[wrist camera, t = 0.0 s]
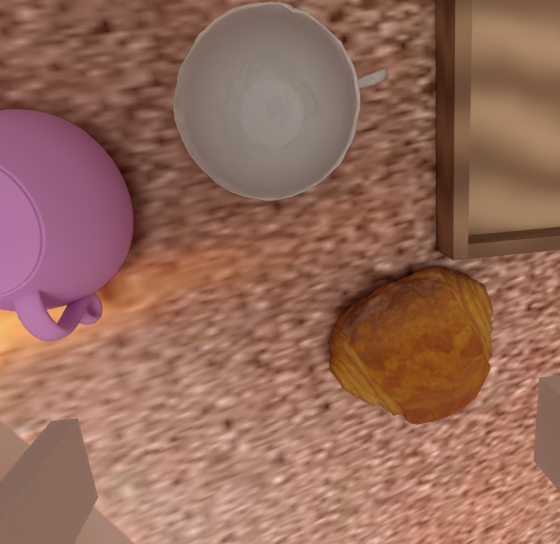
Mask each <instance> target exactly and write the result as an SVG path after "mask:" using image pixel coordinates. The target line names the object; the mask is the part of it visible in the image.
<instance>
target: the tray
mask: <svg viewBox="0 0 560 544" xmlns="http://www.w3.org/2000/svg"><path fill="white" fill-rule="evenodd" d="M436 250H438V251H439V252H441V253H443V254H444V255H446V256H448V257H449V258H451V259H452V260H459V259H469V258H479V257H490V256H500V255H510V254H521V253H531V252H541V251H552V250H560V0H436Z"/></svg>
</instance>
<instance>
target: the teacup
mask: <svg viewBox="0 0 560 544" xmlns="http://www.w3.org/2000/svg"><path fill="white" fill-rule="evenodd" d="M386 76H387V72H386V70H385V69H381V70H378V71H375V72H373V73H371V74H368V75H366V76H363V77H361V78H357V74H356V71H355V68H354V65H353V63H352V61H351V59H350V58H349V56H348V54H347V52H346V50H345V49H344V47H343V45H342V42H341V41H339V40H338V39H337V38H336V37H335V36H334V35H333V34H332V33H331V32H330V31H329V30H328V29H327V28H326V27H325V26H324V25H323V24H322V23H321V22H319V21H318V20H317V19H316V18H315V17H313V16H312V15H311V14H309V13H308V12H306V11H305V10H300V9H298V8H296V9H295V8H293V7H292V6H290V5H288V4H286V3H282V2H261V3H252V4H246V5H242V6H238V7H235V8H233V9H231V10H229V11H227V12H225V13H224V14H222V15H220V16H219V17H217V18H216V19H214V20H213V21H212V22H211V23H210V24H209V25H208V26H207V27H206V28H205V29H204V31H202V32H201V33H199V34H198V36H197V38H196V40H195V42H194V44H193V46H192V47H191V48H190V50H189V52H188V54H187V56H186V58H185V60H184V61H183V63H182V64H181V66H180V68H179V72H178V75H177V85H176V88H175V91H174V101H173V106H172V107H173V111H174V119H175V122H176V125H177V128H178V130H179V133H180V135H181V138H182V141H183V143H184V145H185V147H186V149H187V151H188V153H189V154H190V156H191V157H192V158H193V160H194V161H195V162H196V164H197V165H198V166H199V167H200V168H201V169H202V170H203V171H204V172H205V173H206V174H207V175H208V176H209V177H210V178H211V179H212V180H213V181H214V182H215V183H217V184H218V185H220V186H221V187H223V188H224V189H226V190H228V191H229V192H231V193H234V194H237V195H240V196H243V197H247V198H252V199H261V200H263V201H272V200H282V199H285V198H289V197H292V196H295V195H298V194H300V193H303V192H305V191H307V190H309V189H310V188H312V187H314V186H316V185H317V184H319V183H320V182H322V181H323V180H324V179H325V178H327V177H328V176H329V175H330V174H331V172H332V171H333V170H334V169H335V168H337V167H338V166H339V165H340V164H341V163H342V160H343V159H344V157H345V154H346V152H347V150H348V148H349V147H350V145H351V143H352V141H353V138H354V136H355V131H356V125H357V121H358V116H359V111H360V91H359V90H360V89H362V88H366V87H369V86H373V85H375V84H377V83H379V82H381V81H383V80H384V79H385V78H386Z"/></svg>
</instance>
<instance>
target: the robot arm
mask: <svg viewBox="0 0 560 544" xmlns="http://www.w3.org/2000/svg"><path fill="white" fill-rule="evenodd" d="M534 461H535V463H536V464H537V465H538V466H539V467H540V469H541V470H542V471H543V472H544V473H545V475H546V476H547V477H548V478H549V479H550V481H551V482H552V483H553V484H554V485H555V487H556V488H557V489H558V490H559V491H560V376H549V377H539V391H538V406H537V420H536V435H535V449H534ZM97 498H98V496H97V492H96V488H95V484H94V480H93V477H92V473H91V469H90V465H89V461H88V457H87V453H86V449H85V446H84V442H83V438H82V434H81V430H80V426H79V422H78V419H69V420H58V421H51V422H50V423H49V424H48V426H47V427H46V428H45V429H44V430H43V432H42V433H41V434H40V435H39V436H38V437H37V439H36V440H35V441H34V442H33V443H32V445H31V446H30V447H29V448H28V449H27V451H26V452H25V453H24V454H23V455H22V456H21V458H20V459H19V460H18V461H17V462H16V463H15V465H14V466H13V467H12V468H11V470H10V471H9V472H8V473H7V474H6V475H5V477H4V478H3V479H2V480H1V481H0V544H74V542H75V540H76V538H77V536H78V535H79V533H80V531H81V529H82V527H83V525H84V523H85V521H86V519H87V517H88V515H89V513H90V512H91V510H92V508H93V506H94V504H95V502H96V500H97Z"/></svg>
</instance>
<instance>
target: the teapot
mask: <svg viewBox="0 0 560 544" xmlns="http://www.w3.org/2000/svg"><path fill="white" fill-rule="evenodd" d="M133 224H134V223H133V209H132V204H131V199H130V195H129V192H128V189H127V186H126V184H125V181H124V179H123V177H122V175H121V173H120V171H119V169H118V168H117V166H116V165H115V163H114V161H113V160H112V158H111V157H110V156H109V155H108V153H107V152H106V151H105V150H104V148H103V147H102V146H101V145H100V144H99V143H98V142H97V141H96V140H95V139H94V138H92V137H91V136H90V135H89V134H87V133H86V132H85V131H84V130H82V129H81V128H79V127H77V126H76V125H74V124H73V123H71V122H69V121H67V120H65V119H62V118H60V117H58V116H55V115H52V114H48V113H45V112H40V111H34V110H25V109H6V110H0V309H2V310H8V311H16V312H17V315H18V317H19V319H20V321H21V322H22V324H23V325H24V327H25V328H26V329H27V330H28V331H29V332H30V333H31V334H32V335H33V336H35V337H36V338H38V339H41V340H44V341H55V340H59V339H62V338H64V337H66V336H67V335H69V334H70V333H71V332H73V331H74V329H75V328H76V327H77V325H78V324H79V323H81V324H84V325H88V324H93V323H95V322H97V321H98V320H99V319H100V317H101V316H102V304H101V301H100V299H99V297H98V296H97V295H96V294H95V293H94V292H96V291H97V290H98V289H100V288H101V287H102V286H104V285H105V284H107V283H108V282H109V281H110V280H111V279H112V278H113V277H114V276H115V274H116V273H117V272H118V270H119V269H120V268H121V266H122V264H123V262H124V261H125V259H126V257H127V254H128V251H129V249H130V245H131V241H132V236H133ZM65 305H67V307H66V309H65V310H64V312H63V314H62V316H61V318H60V320H59V321H58V323H56V322H55V321H54V320H53V319H52V318H51V317H50V315H49V314H48V312H47V309H52V308H57V307H61V306H65Z"/></svg>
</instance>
